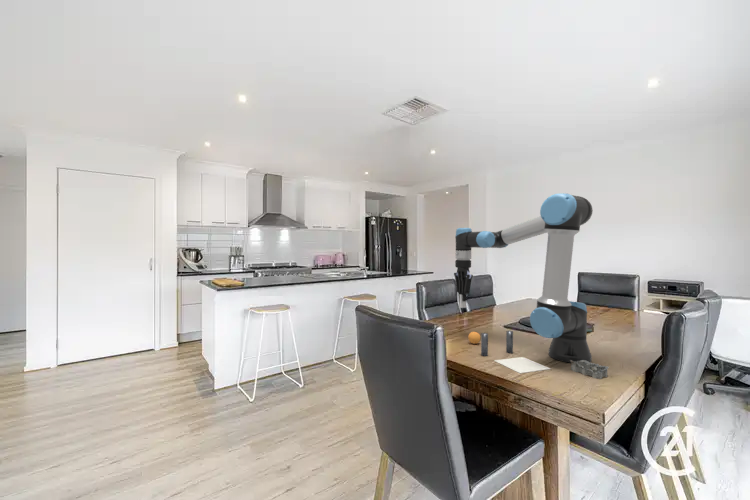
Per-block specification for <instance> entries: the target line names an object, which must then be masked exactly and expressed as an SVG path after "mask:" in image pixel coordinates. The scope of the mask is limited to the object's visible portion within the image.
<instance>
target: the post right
mask: <svg viewBox="0 0 750 500" xmlns="http://www.w3.org/2000/svg"><path fill="white" fill-rule="evenodd" d="M505 335H506V336H505V338H506V343H505V350H506V351H505V352H506V354H513V353H514V331H513V330H506V334H505Z"/></svg>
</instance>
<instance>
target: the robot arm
mask: <svg viewBox="0 0 750 500" xmlns="http://www.w3.org/2000/svg"><path fill="white" fill-rule="evenodd" d="M539 214H540V216H537V217H534V218H532V219H530V220H529V219H528V220H526V221H523V222H521V223H518V224H514V225H513V226H509V227H507V228H504V229H501V230H498V231H487V230H481V231H473V230H472V228H471V227H457V228H456V230H455V252H454V253H455V259H456V260H455V261H454V263H455V264H454V265H455V268H457V269H456V272H454V273H453V276H454V281H455V288H456V289H455V290H456V293H458V294H459V300H458V301H459V304H458V305H459V309H466V308H467V295H469V294H470V291H471V286H472V279H473V277H474V276H473V274H471V273H470V272H471V271H470V268H471V267H472V260H471V259H472V248H477V249H478V248H479V249H480V248H482V249H487V248H488V249H489V248H492V249H504V248H506V247H508V246H509V245H511V244H514V243H517V242H521V241H524V240H528V239H530V238H533V237H537V236H540V235H543V234H546V233H547V242H546V243H547V244H546V252H545V253H546V255H545V262H544V263H545V264H544V273H543V281H542V283H543V284H542V293H541V296H540V297H538V298H537V300H536V308H535V309H533V310H532V311H531V313H530V315H529V323H530V326H531V328H532V329H533V330H534V332H535V333H536V334H537V335H539V336H540V337H543V338H546V339H552V340H551V343H550V346H549V348H548V356H549V357H550V358H552V359H554V360H557V361H560V362H565V363H570V364H572V362H570V360H572V361H574V362H575V361H576V362H577V361H581V360H586V361H588V362H590V363H592V352H591V350H590V348H589V344H588V342H587V339H588V338H587V334H588V333H587V331H588V330H587V329H588V326H587V325H588V322H587V321H588V320H587V319H588V309H587V304H586V303H585V302H579V301H572V300H571V301H570V300H569V297H568V296H569V288H570V279H571V270H572V259H573V251H574V242H575V235H577V234H578V233H579V232H580V230H581V229H580V228H581V226H583V225H584V224H586V223H587V222H589V221H590V219H591V217H592V215H593V206H592V204H591V201H589V200H588V199H586V198H585V197H583V196H579V195H573V194H570V193H554V194H552V195H550V196H548V197H547V198H546V199H545V200H543V202H542V204H541V206H540V212H539Z"/></svg>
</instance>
